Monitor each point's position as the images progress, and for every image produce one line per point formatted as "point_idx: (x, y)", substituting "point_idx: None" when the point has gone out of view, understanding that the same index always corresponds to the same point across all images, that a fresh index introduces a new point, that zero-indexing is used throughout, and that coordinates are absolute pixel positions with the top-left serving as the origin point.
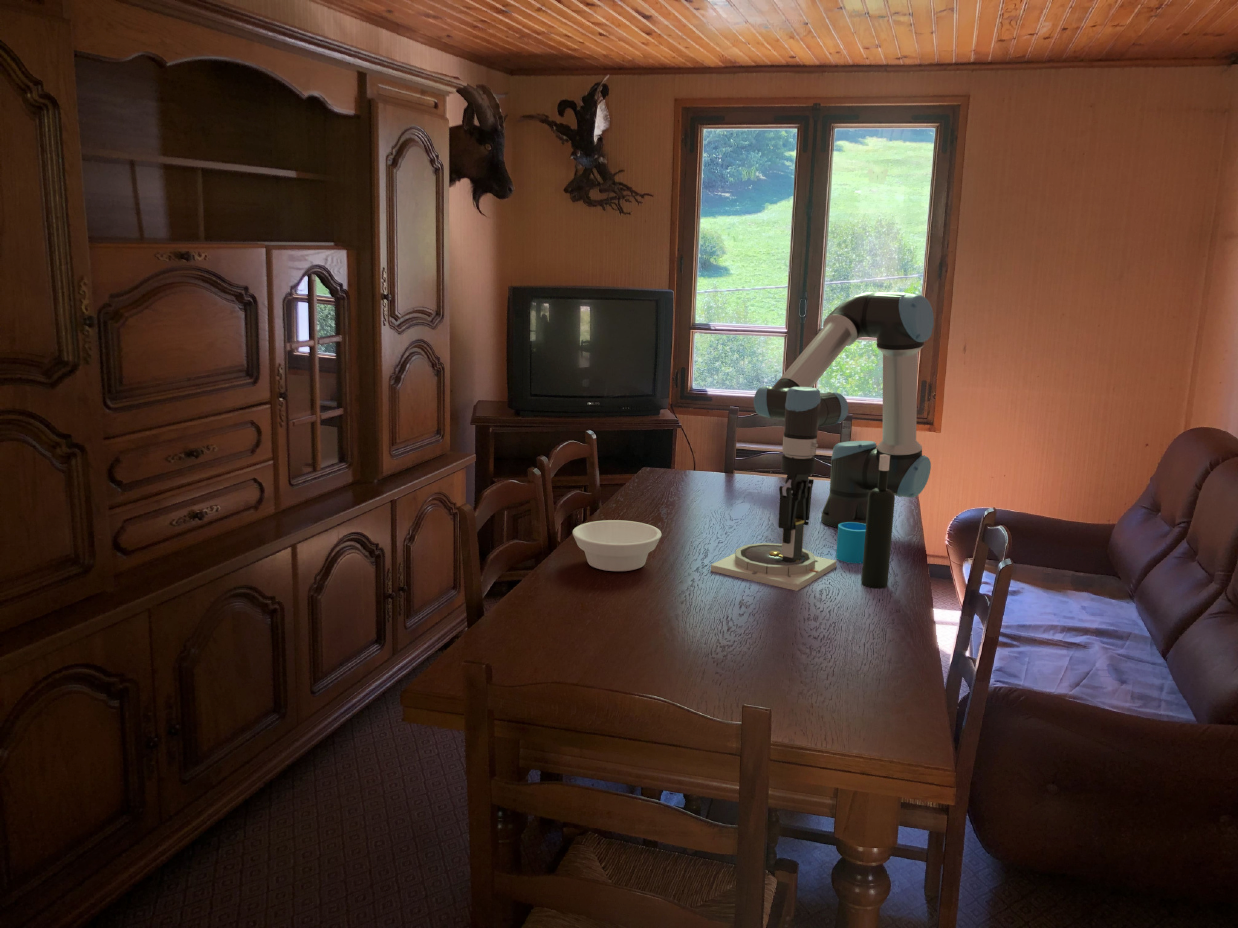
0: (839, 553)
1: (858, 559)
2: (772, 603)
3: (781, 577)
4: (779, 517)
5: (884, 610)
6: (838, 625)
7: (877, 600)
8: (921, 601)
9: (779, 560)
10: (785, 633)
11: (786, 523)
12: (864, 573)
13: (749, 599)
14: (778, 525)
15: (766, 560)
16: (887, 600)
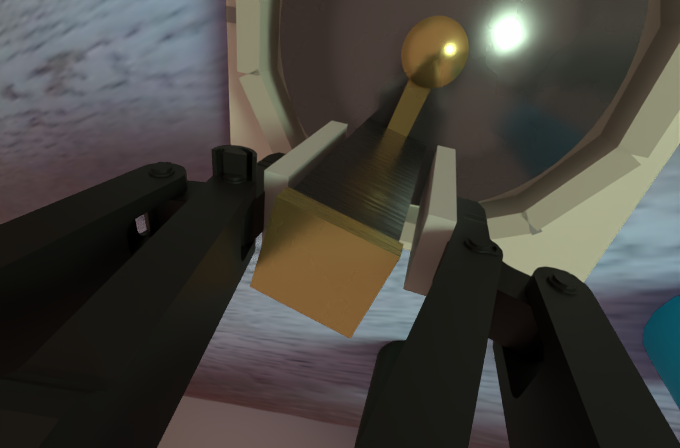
0: None
1: (652, 360)
2: (120, 147)
3: (260, 137)
4: (79, 199)
5: (249, 362)
6: None
7: (296, 358)
8: (339, 423)
9: (345, 106)
10: (26, 208)
11: (131, 239)
12: (380, 371)
13: (96, 76)
14: (143, 166)
15: (310, 43)
16: (308, 374)
